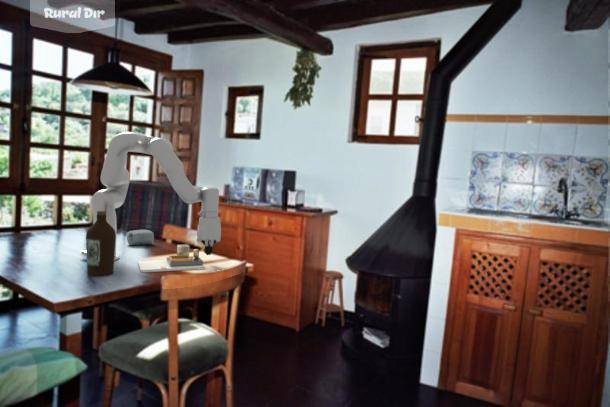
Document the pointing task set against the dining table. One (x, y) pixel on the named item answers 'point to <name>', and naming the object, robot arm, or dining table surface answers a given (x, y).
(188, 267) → the index board
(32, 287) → the dining table surface
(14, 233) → the dining table surface
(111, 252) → the olive oil
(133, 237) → the rolled grey towel
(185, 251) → the link block
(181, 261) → the carriage
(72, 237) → the dining table surface
